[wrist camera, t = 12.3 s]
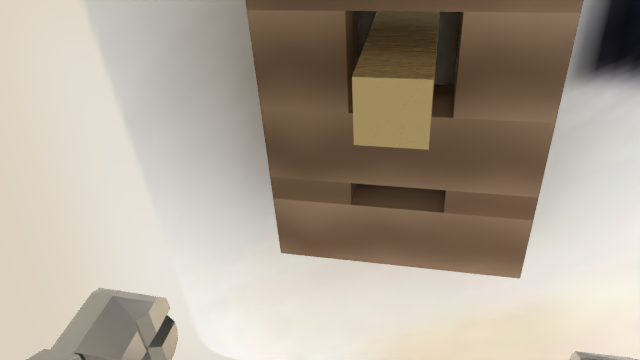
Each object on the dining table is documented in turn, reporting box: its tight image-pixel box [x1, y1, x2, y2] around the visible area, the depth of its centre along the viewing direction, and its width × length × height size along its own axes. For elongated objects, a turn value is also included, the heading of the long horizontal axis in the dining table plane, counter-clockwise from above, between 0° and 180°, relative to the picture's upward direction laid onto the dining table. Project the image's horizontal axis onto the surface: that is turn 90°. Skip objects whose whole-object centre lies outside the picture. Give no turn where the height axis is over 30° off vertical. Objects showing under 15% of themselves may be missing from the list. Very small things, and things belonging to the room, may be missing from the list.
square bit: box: [352, 11, 440, 150], centre depth 23 cm, size 3×3×8 cm
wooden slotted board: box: [246, 0, 583, 278], centre depth 27 cm, size 18×14×4 cm
